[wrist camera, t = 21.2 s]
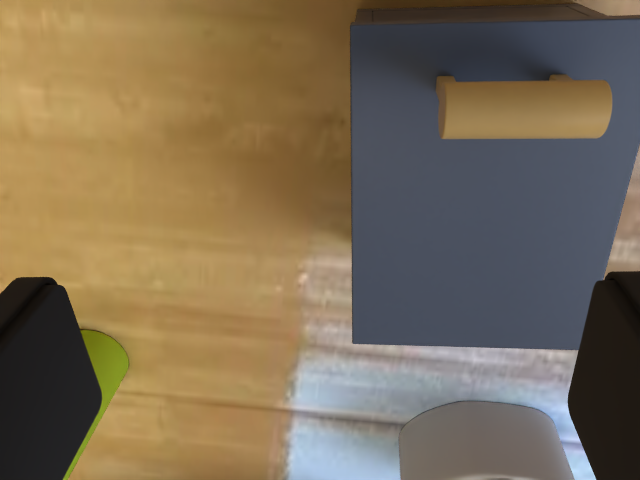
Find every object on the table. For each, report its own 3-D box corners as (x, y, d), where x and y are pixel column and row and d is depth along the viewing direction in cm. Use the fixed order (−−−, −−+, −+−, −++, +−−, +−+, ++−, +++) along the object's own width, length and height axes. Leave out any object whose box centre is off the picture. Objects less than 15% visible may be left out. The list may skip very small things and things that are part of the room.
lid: (350, 21, 23) (345, 49, 18) (665, 14, 22) (744, 41, 17) (352, 334, 31) (349, 408, 27) (579, 340, 30) (617, 418, 25)
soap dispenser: (54, 315, 45) (-142, 557, 28) (135, 344, 46) (-7, 596, 29) (44, 364, 48) (-139, 610, 31) (121, 390, 49) (-16, 645, 32)
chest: (356, 9, 32) (351, 40, 23) (578, 3, 31) (656, 34, 22) (357, 245, 40) (352, 334, 31) (533, 247, 39) (579, 340, 30)
